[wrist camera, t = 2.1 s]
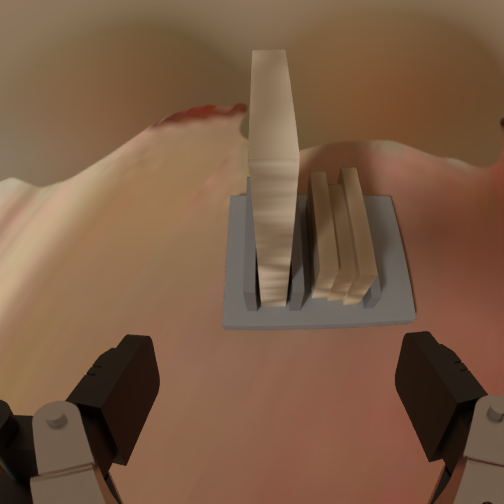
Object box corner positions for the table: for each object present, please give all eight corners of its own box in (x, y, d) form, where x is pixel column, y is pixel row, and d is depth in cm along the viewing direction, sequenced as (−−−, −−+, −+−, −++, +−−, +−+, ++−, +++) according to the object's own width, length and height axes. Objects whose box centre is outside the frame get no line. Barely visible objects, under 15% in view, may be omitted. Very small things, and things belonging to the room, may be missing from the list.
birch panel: (282, 208, 38) (285, 49, 20) (285, 306, 32) (299, 158, 15) (261, 208, 38) (252, 50, 21) (261, 306, 32) (247, 159, 15)
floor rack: (387, 203, 39) (401, 169, 34) (410, 323, 32) (436, 301, 26) (231, 203, 41) (225, 167, 35) (224, 329, 33) (214, 308, 27)
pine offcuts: (344, 208, 37) (355, 167, 31) (358, 304, 32) (377, 274, 26) (305, 207, 38) (309, 166, 32) (312, 305, 32) (321, 276, 26)
